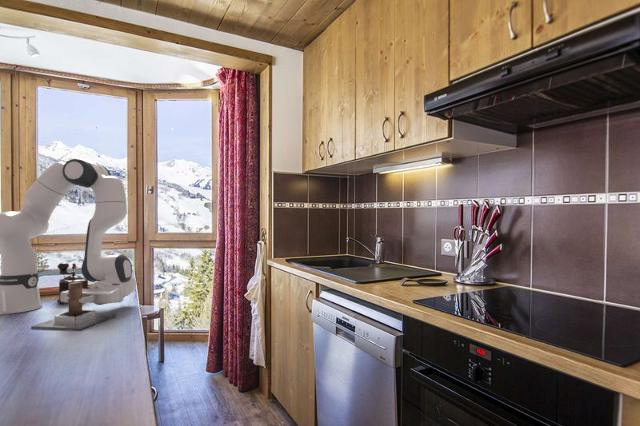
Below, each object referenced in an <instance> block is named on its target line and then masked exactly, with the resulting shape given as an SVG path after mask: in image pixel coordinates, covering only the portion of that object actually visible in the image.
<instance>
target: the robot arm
mask: <svg viewBox="0 0 640 426" xmlns="http://www.w3.org/2000/svg"><path fill="white" fill-rule="evenodd" d="M75 186H78V187H81V188H84V189H91V190H92V191H93V192H94V199H95V200H94V201H95V202H94V203H95V209H94V212H93V213H94V214H93V216H92V218H90V220H89V222H88V224H87V228H86V229H87V230H86V237H85V238H86V239H85V248H84V257H83V260H82V265H81V268H80V272H81V273H82V274H81V275H82V276H83V278H86V279H87V280H88V282H91V283H92V285H91V286H90V287H89V288H88V289H82V298H79V303H82V304H85V303H87V304H90V303H91V304H95V305H96V306H103V305H107V304H108V305H109V304H114V303H122V302H123V301H124V298H126V297H127V296H130V295H131V294H132V293H134V291H136V288H137V280H136V278H135V277H134V276H133V265H132V264H133V263H132V262H131V260H130V259H129V257H127V255H125V254H123V253H122V254H113V255H111V254H110V255H104V256H102V254H101V253H102V244H103V238H104V235H105V233H106V232H107V231H108V230H110V229H111V228H113V227H115V226H117V225H119V224H120V223H121V222H123V221H124V219H125V218H126V216H127V213H128V212H127V211H128V210H127V209H128V206H127V196H126V191H125V186H124V182H123V180H122V179H120V178H119V177H116V176H113V175H112V174H111V171H110V170H109V169H108V168H107V167H105V166H103V165H102V164H99V163H97V162H95V161H92V160H91V161H90V160H87V159H84V158H72V159H70V160H68V161H66V162H63V161H56V162H53V163H52V164H51V165H50V166H49V167H47V168H46V169H45V170H44V171H43V172H42V173H41V174H40V175H39V176H38V177H37V178H36V180H35V181H34V182H33V184H31V186H30V187H28V190H27V191H26V192H25V193H24V203H23V206H22V207H21V209H19V210H18V211H13V210H12V211H3V212H0V261H1V263H0V265H1V270H0V271H1V274H0V316H3V315H8V314H17V313H25V312H29V311H33V310H38V309H40V308H42V307H43V305H42V304H43V302H42V301H41V295H40V289H39V288H40V287H39V285H38V284H39V277H40V275H39V272H38V253H37V251H35V249H34V248H33V246H32V243H31V239H34V238H37V237H39V236H41V235H44V234H45V233H46V232H47V231H48V229H49V227H50V225H49V220H50V219H51V216H52V214H53V212H54V210H55V209H56V208H57V206H58V205H59V203H61V201H62V200H63V199H64V197H65V196H66V195H67V194H68V192H69V191H70V190H71V189H72V188H73V187H75ZM101 280H104V281H101ZM98 281H99V282H98ZM68 299H69V290H67V291H63V292H61V294H60V301H61V302H65V303H68Z"/></svg>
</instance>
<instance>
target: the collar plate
mask: <svg viewBox="0 0 640 426" xmlns="http://www.w3.org/2000/svg"><path fill="white" fill-rule="evenodd" d="M114 318H116V315H115V314H96V310H93V309H91V310H89V309H82V315H79V316H68V311H66V312H63V313H60V314H56V315H54V318H53V319H50V320H47V321H44V322H40V323H38V324H34V325H31V326H30V328H31V330H48V331H49V330H51V331H71V332H72V331H75V332H76V331H77V332H81V331H84V330H87V329H89V328H92V327H93V326H94V327H95V326H97V325H100V324H102V323H105V322H106V321H107V322H108V321H110V320H112V319H114Z"/></svg>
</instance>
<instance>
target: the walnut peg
mask: <svg viewBox="0 0 640 426" xmlns="http://www.w3.org/2000/svg"><path fill="white" fill-rule="evenodd" d="M79 298H82V282H73V283H69V299H68V304H67V305H68V311H67V312H68V316H79V315H82V310H83V303H79Z"/></svg>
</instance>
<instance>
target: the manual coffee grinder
mask: <svg viewBox="0 0 640 426" xmlns="http://www.w3.org/2000/svg"><path fill="white" fill-rule="evenodd" d="M71 265H72V267H71V269H72V271H71V272H69V271H68V269H69V267H70V264H69V263H67V262H64V261H63V262H61V263H59V264H57V269H59V274H60V275H63V278H61V279H59V281H58V299H56V302H57V303H58V305H68V303H65V302H61V301H60V294H61V292H63V291H67V290H69V283H73V282H82V289H89V288H88V287H89V281H88V280H87V279H86V278H85V277H82V276H80V275H76V272H77V269H76V268H77V267H76V265H77V264H76V263H74V262H73V263H72V264H71ZM65 275H67V276H65Z"/></svg>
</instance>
